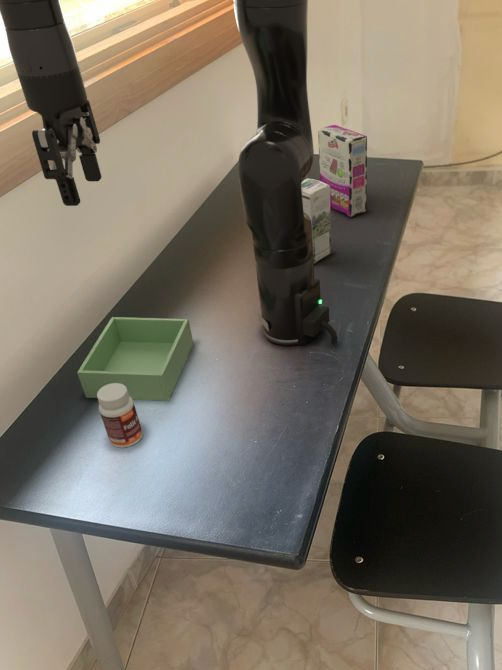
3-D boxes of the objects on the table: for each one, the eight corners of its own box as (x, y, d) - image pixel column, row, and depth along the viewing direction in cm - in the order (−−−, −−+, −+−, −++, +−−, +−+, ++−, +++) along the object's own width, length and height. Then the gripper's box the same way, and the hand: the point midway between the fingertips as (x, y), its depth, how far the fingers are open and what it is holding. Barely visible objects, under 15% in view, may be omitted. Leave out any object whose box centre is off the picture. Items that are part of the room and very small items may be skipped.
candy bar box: (368, 211, 147) (368, 135, 136) (350, 218, 145) (349, 141, 134) (336, 196, 154) (334, 123, 143) (319, 202, 152) (316, 128, 141)
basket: (193, 343, 112) (188, 318, 108) (168, 400, 101) (162, 375, 97) (118, 341, 113) (111, 317, 110) (86, 397, 102) (76, 372, 99)
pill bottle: (135, 450, 93) (120, 404, 87) (104, 446, 94) (87, 401, 88) (148, 427, 96) (135, 382, 91) (118, 424, 97) (103, 379, 91)
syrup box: (310, 246, 136) (306, 176, 126) (332, 254, 133) (330, 183, 124) (292, 257, 133) (286, 186, 123) (314, 265, 130) (310, 193, 120)
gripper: (53, 80, 77) (91, 213, 88) (95, 50, 88) (125, 172, 98) (-8, 82, 78) (38, 214, 89) (41, 51, 88) (76, 173, 99)
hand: (83, 192), depth 93 cm, fingers open, 8 cm apart
